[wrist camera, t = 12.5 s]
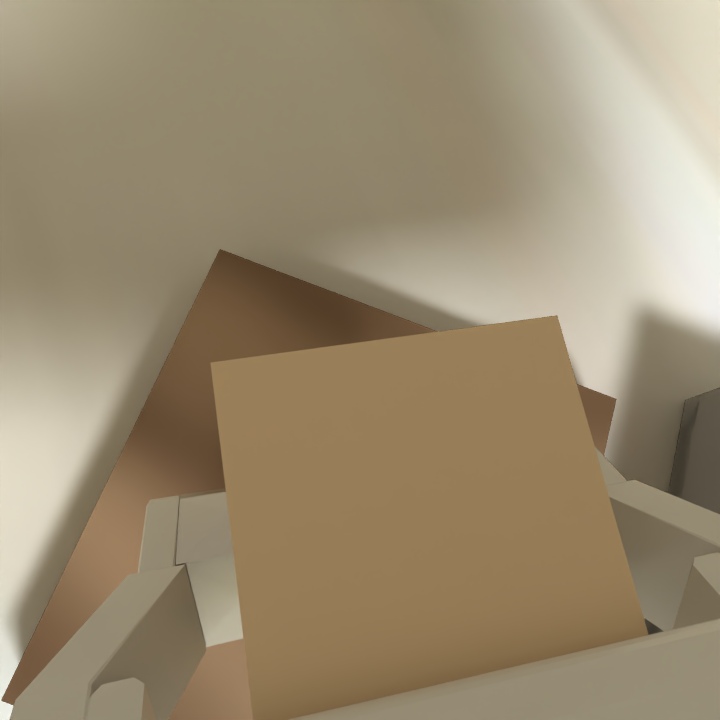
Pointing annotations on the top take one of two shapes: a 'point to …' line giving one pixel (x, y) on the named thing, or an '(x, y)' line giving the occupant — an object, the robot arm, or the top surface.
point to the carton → (415, 514)
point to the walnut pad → (208, 454)
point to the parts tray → (697, 458)
